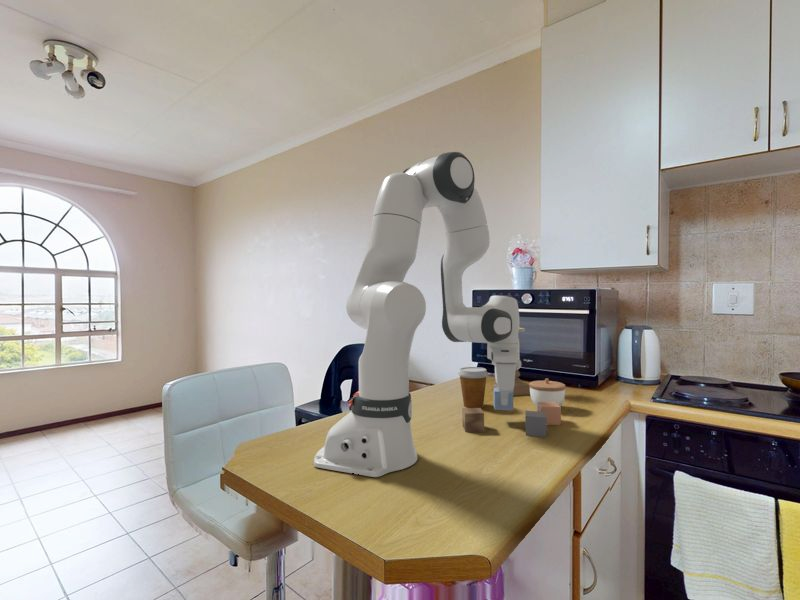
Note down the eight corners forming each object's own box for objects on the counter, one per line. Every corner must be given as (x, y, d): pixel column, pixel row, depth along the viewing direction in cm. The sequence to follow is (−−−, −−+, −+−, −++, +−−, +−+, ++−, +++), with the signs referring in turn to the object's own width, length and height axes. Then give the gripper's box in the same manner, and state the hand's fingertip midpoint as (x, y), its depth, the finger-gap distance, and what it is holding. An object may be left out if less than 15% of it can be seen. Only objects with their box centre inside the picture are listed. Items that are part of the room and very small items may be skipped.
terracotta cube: (542, 424, 107) (541, 406, 107) (537, 419, 112) (537, 402, 112) (561, 425, 107) (560, 406, 107) (555, 419, 112) (555, 402, 112)
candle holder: (505, 396, 138) (504, 329, 139) (491, 389, 149) (490, 327, 149) (533, 394, 141) (532, 328, 141) (517, 387, 152) (516, 326, 152)
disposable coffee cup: (478, 400, 133) (478, 365, 133) (494, 408, 124) (493, 370, 124) (453, 403, 130) (453, 367, 130) (467, 411, 121) (466, 372, 121)
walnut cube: (465, 432, 102) (464, 413, 102) (462, 426, 107) (462, 408, 107) (484, 432, 102) (484, 413, 102) (480, 426, 107) (480, 407, 107)
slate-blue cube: (494, 409, 108) (494, 391, 108) (493, 404, 112) (493, 387, 112) (513, 410, 107) (513, 392, 107) (511, 405, 112) (511, 388, 112)
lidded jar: (572, 409, 121) (572, 379, 121) (552, 415, 115) (551, 383, 115) (543, 402, 130) (542, 374, 130) (522, 407, 124) (522, 378, 124)
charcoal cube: (525, 435, 99) (525, 416, 99) (525, 429, 104) (525, 410, 104) (546, 437, 97) (546, 417, 97) (545, 431, 102) (545, 412, 102)
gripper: (490, 348, 120) (490, 393, 120) (493, 357, 100) (493, 410, 100) (511, 348, 119) (511, 393, 119) (519, 357, 99) (519, 411, 99)
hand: (503, 401), depth 110 cm, fingers closed on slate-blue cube, 5 cm apart
